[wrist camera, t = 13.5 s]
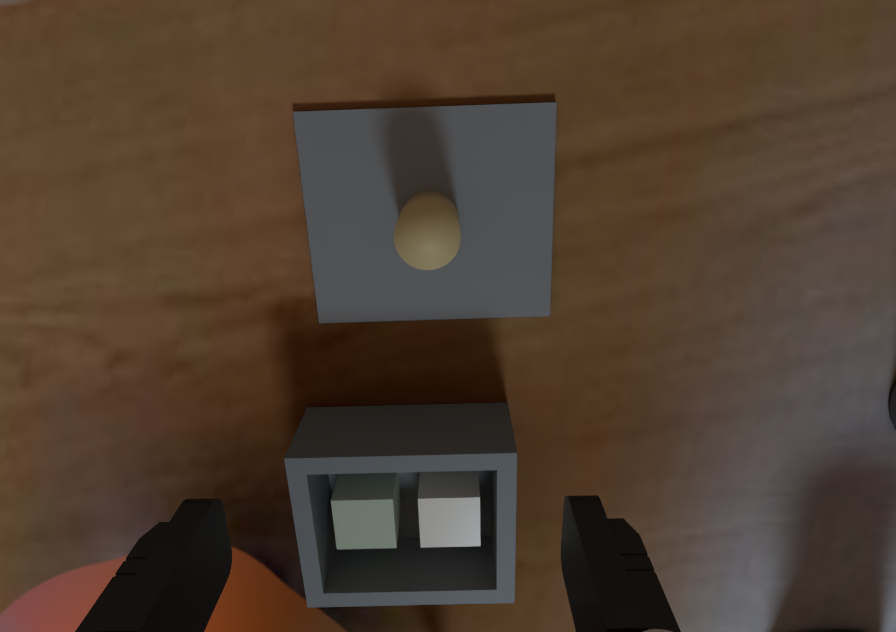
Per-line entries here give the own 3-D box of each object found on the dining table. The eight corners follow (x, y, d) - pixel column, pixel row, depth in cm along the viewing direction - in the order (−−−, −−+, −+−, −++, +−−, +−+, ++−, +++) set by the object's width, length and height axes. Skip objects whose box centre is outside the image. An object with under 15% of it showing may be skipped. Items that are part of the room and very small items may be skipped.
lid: (553, 101, 34) (572, 103, 29) (547, 310, 38) (562, 344, 33) (297, 111, 34) (270, 114, 29) (322, 317, 39) (302, 352, 33)
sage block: (397, 462, 41) (392, 499, 37) (401, 507, 42) (396, 548, 39) (341, 463, 41) (330, 500, 37) (346, 508, 42) (336, 549, 39)
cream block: (477, 459, 41) (480, 497, 37) (477, 505, 42) (480, 546, 39) (420, 461, 41) (417, 498, 37) (422, 507, 42) (420, 547, 39)
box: (507, 402, 40) (517, 453, 35) (506, 538, 45) (514, 602, 39) (306, 407, 40) (284, 458, 35) (324, 542, 45) (307, 607, 39)
